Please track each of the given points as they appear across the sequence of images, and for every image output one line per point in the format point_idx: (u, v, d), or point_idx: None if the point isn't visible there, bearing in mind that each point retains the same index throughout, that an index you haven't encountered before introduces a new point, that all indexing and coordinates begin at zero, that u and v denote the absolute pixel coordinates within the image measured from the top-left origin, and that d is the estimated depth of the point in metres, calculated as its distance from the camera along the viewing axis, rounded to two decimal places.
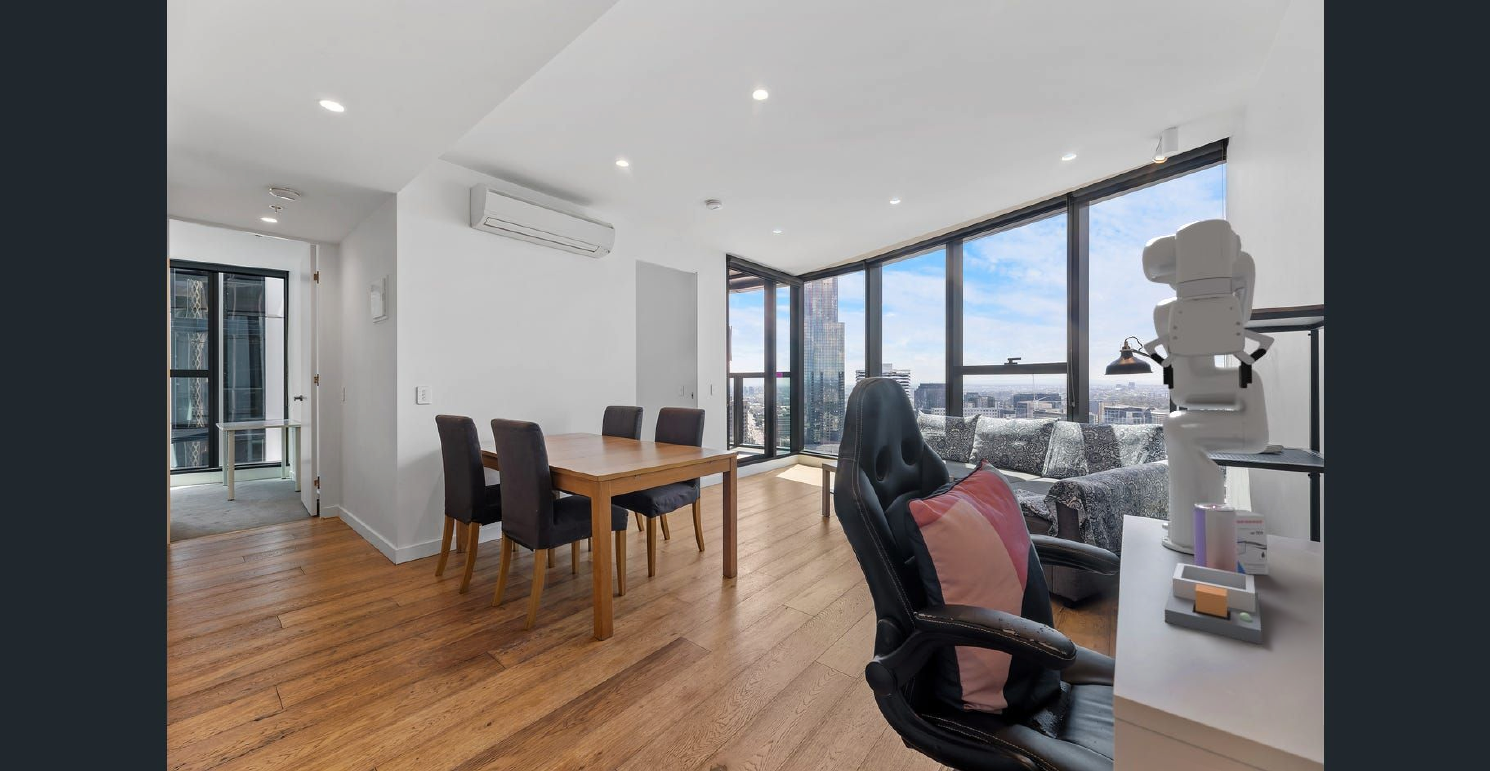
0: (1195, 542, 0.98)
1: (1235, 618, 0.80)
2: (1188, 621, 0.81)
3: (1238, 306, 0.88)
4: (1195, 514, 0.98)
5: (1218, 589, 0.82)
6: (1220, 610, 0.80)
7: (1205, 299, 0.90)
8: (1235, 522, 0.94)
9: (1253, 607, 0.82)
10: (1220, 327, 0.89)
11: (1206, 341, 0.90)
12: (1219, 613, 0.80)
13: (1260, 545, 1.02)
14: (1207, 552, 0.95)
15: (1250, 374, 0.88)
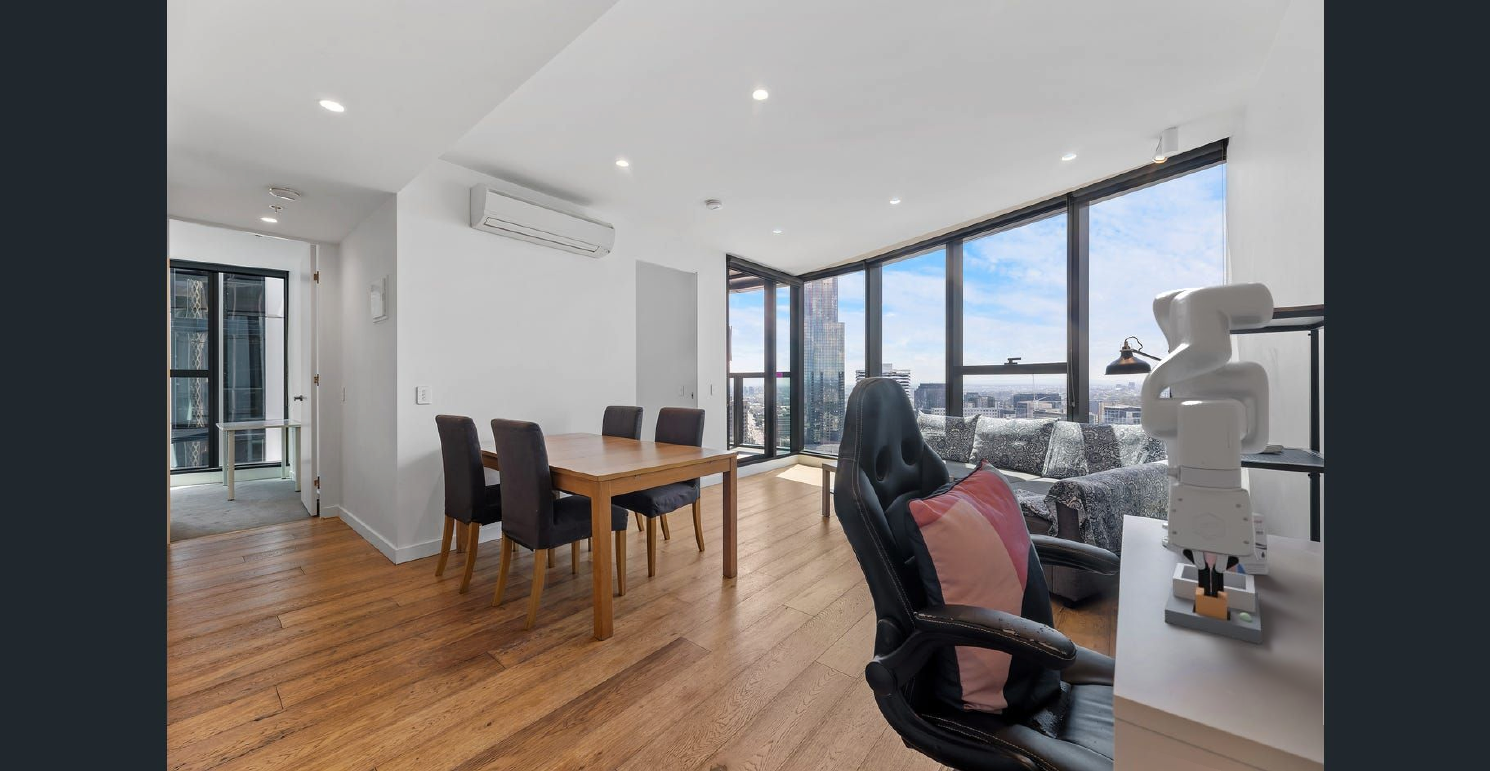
0: None
1: (1235, 618, 0.80)
2: (1188, 621, 0.81)
3: None
4: None
5: (1218, 593, 0.82)
6: (1220, 614, 0.80)
7: None
8: None
9: (1253, 607, 0.82)
10: None
11: None
12: (1219, 617, 0.80)
13: (1260, 545, 1.02)
14: (1207, 552, 0.95)
15: None
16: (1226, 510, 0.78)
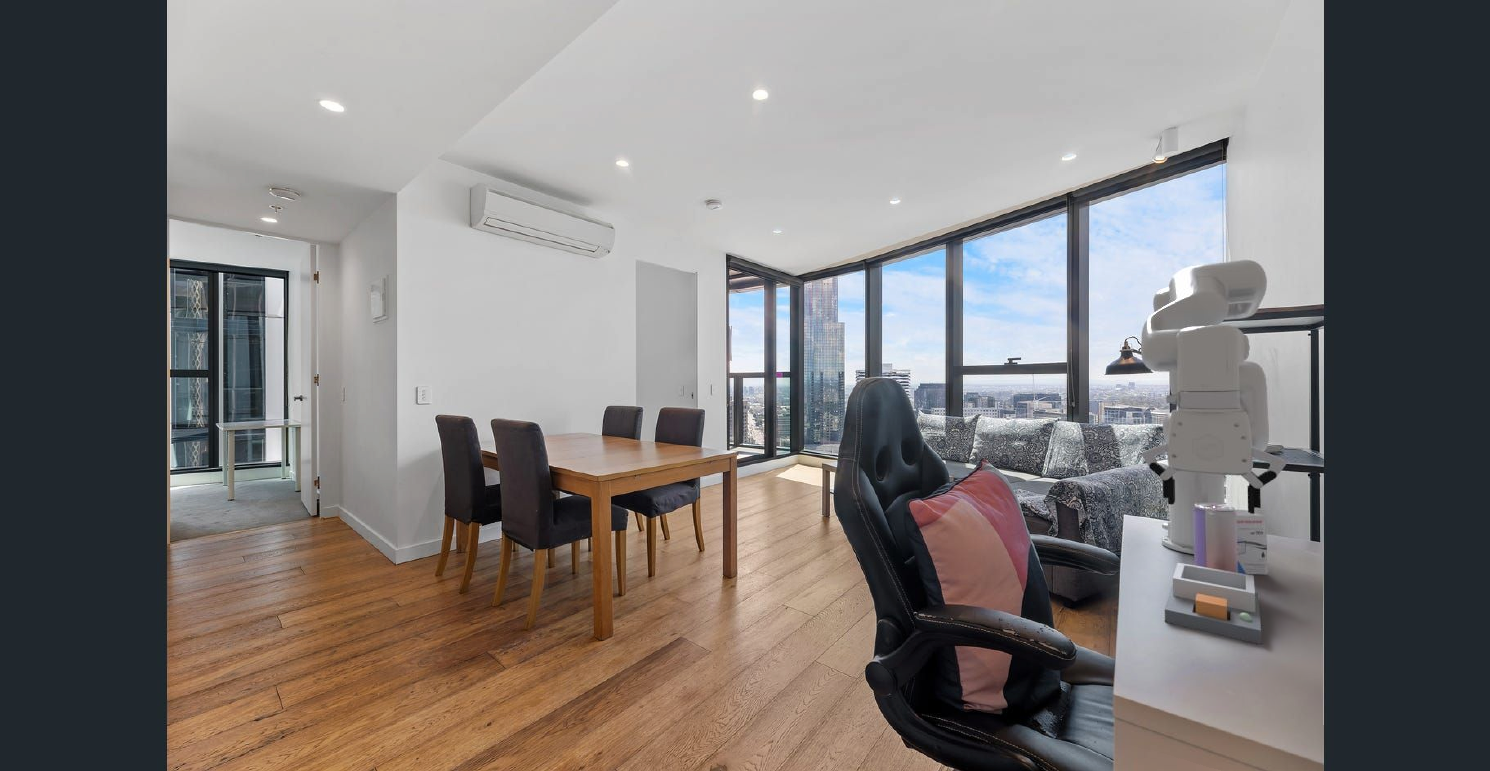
0: (1195, 542, 0.98)
1: (1235, 618, 0.80)
2: (1188, 621, 0.81)
3: None
4: (1195, 514, 0.98)
5: (1218, 599, 0.82)
6: None
7: None
8: (1235, 522, 0.94)
9: (1253, 607, 0.82)
10: None
11: None
12: None
13: (1260, 545, 1.02)
14: (1207, 552, 0.95)
15: None
16: (1225, 430, 0.80)
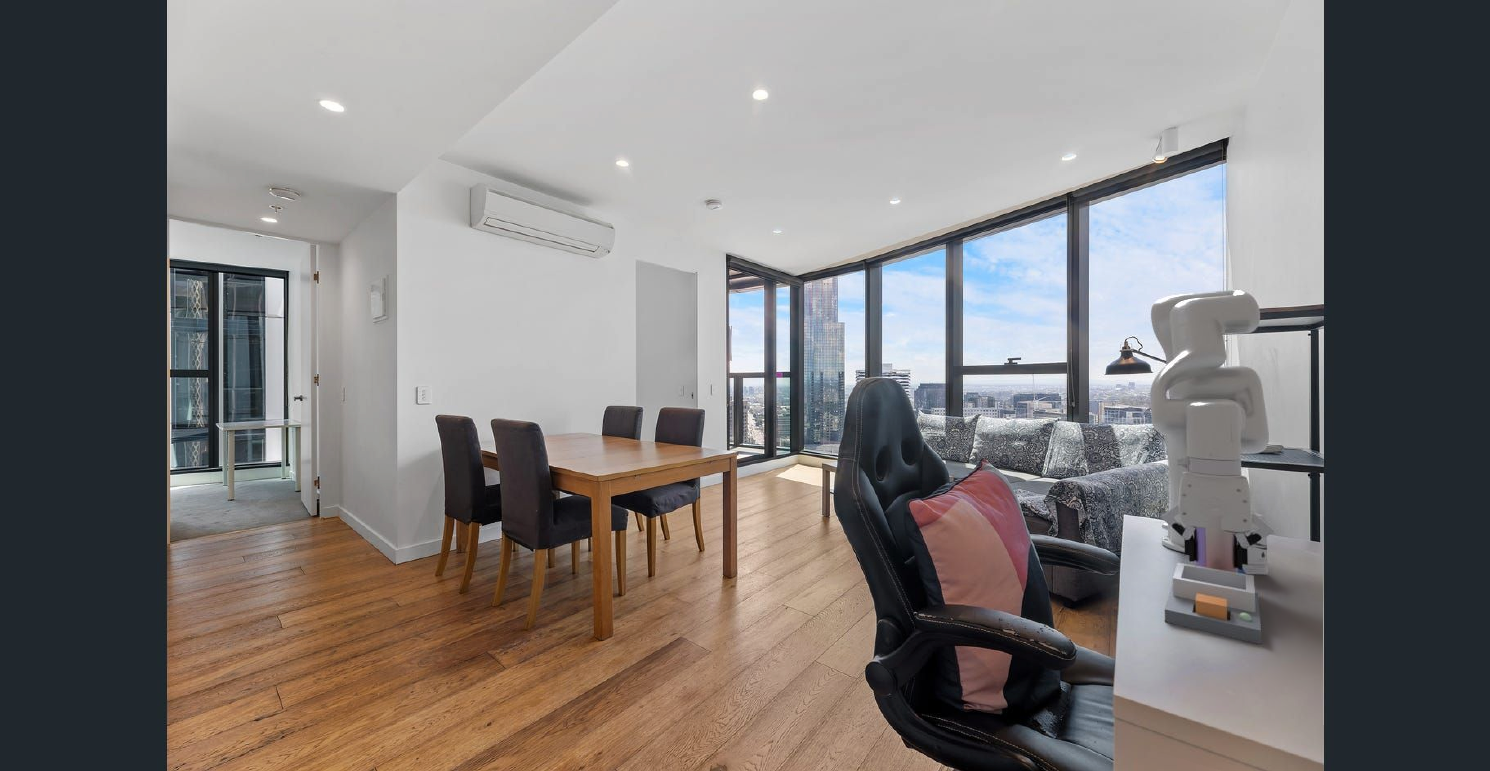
0: (1195, 542, 0.98)
1: (1235, 618, 0.80)
2: (1188, 621, 0.81)
3: None
4: None
5: (1218, 599, 0.82)
6: None
7: None
8: None
9: (1253, 607, 0.82)
10: None
11: None
12: None
13: (1260, 545, 1.02)
14: (1207, 552, 0.95)
15: None
16: (1228, 494, 0.93)
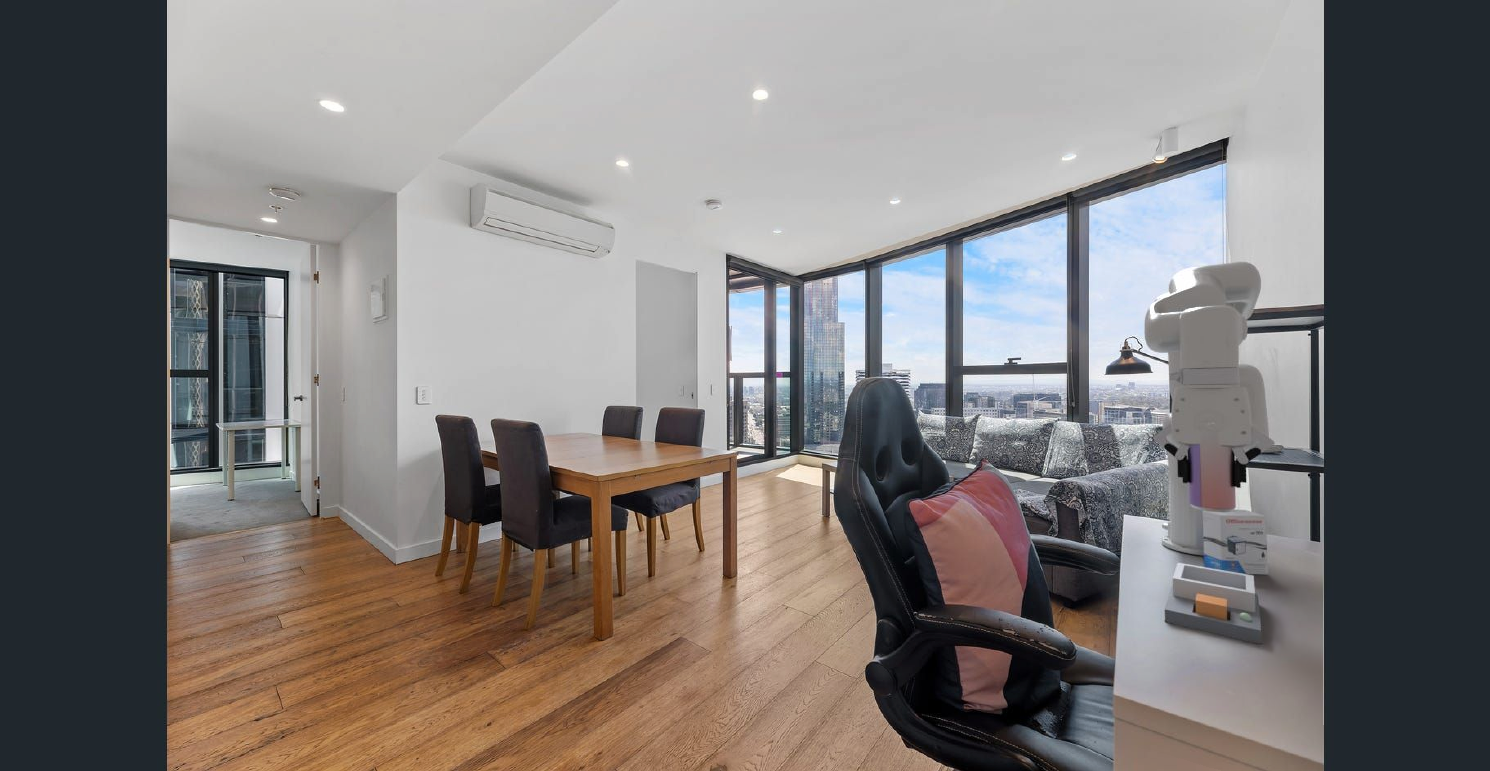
0: (1189, 462, 0.90)
1: (1235, 618, 0.80)
2: (1188, 621, 0.81)
3: None
4: None
5: (1218, 599, 0.82)
6: None
7: None
8: None
9: (1253, 607, 0.82)
10: None
11: None
12: None
13: (1260, 545, 1.02)
14: (1202, 470, 0.87)
15: None
16: (1225, 405, 0.85)
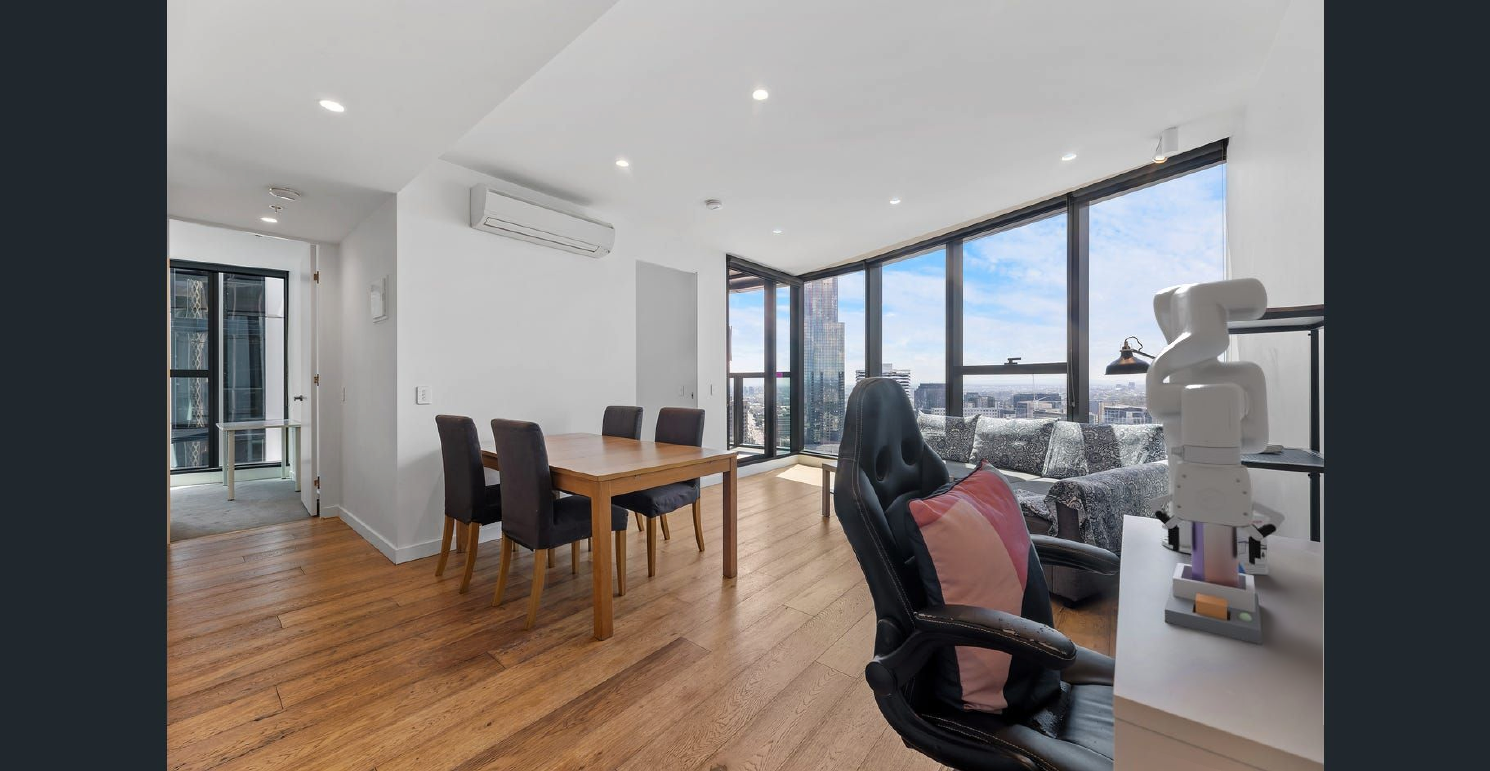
0: (1192, 546, 0.90)
1: (1235, 618, 0.80)
2: (1188, 621, 0.81)
3: None
4: None
5: (1218, 599, 0.82)
6: None
7: None
8: None
9: (1253, 607, 0.82)
10: None
11: None
12: None
13: None
14: (1205, 556, 0.87)
15: None
16: (1227, 485, 0.85)
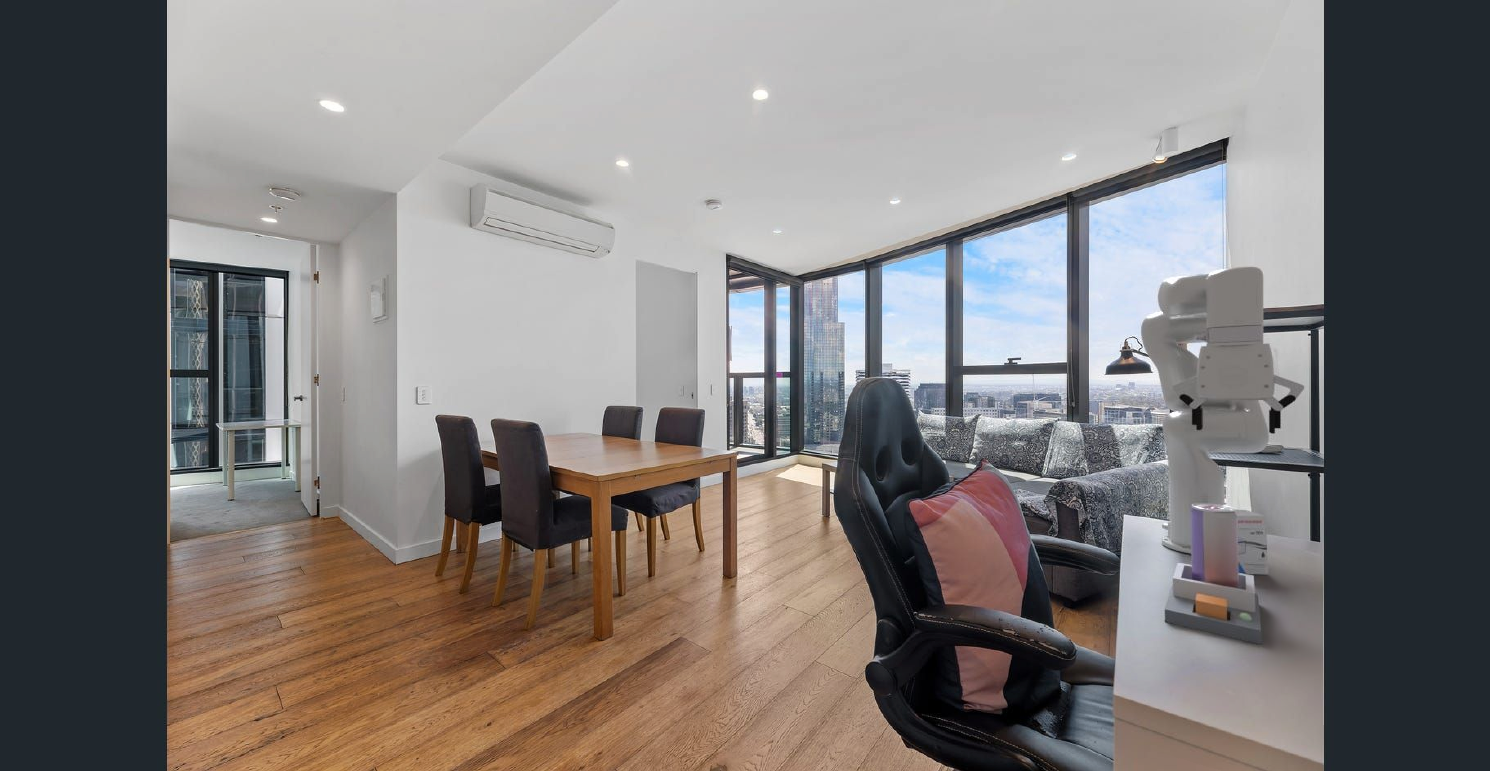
0: (1192, 546, 0.90)
1: (1235, 618, 0.80)
2: (1188, 621, 0.81)
3: None
4: (1192, 515, 0.89)
5: (1218, 599, 0.82)
6: None
7: None
8: (1236, 524, 0.86)
9: (1253, 607, 0.82)
10: None
11: None
12: None
13: (1260, 545, 1.02)
14: (1205, 557, 0.87)
15: None
16: (1249, 361, 0.91)
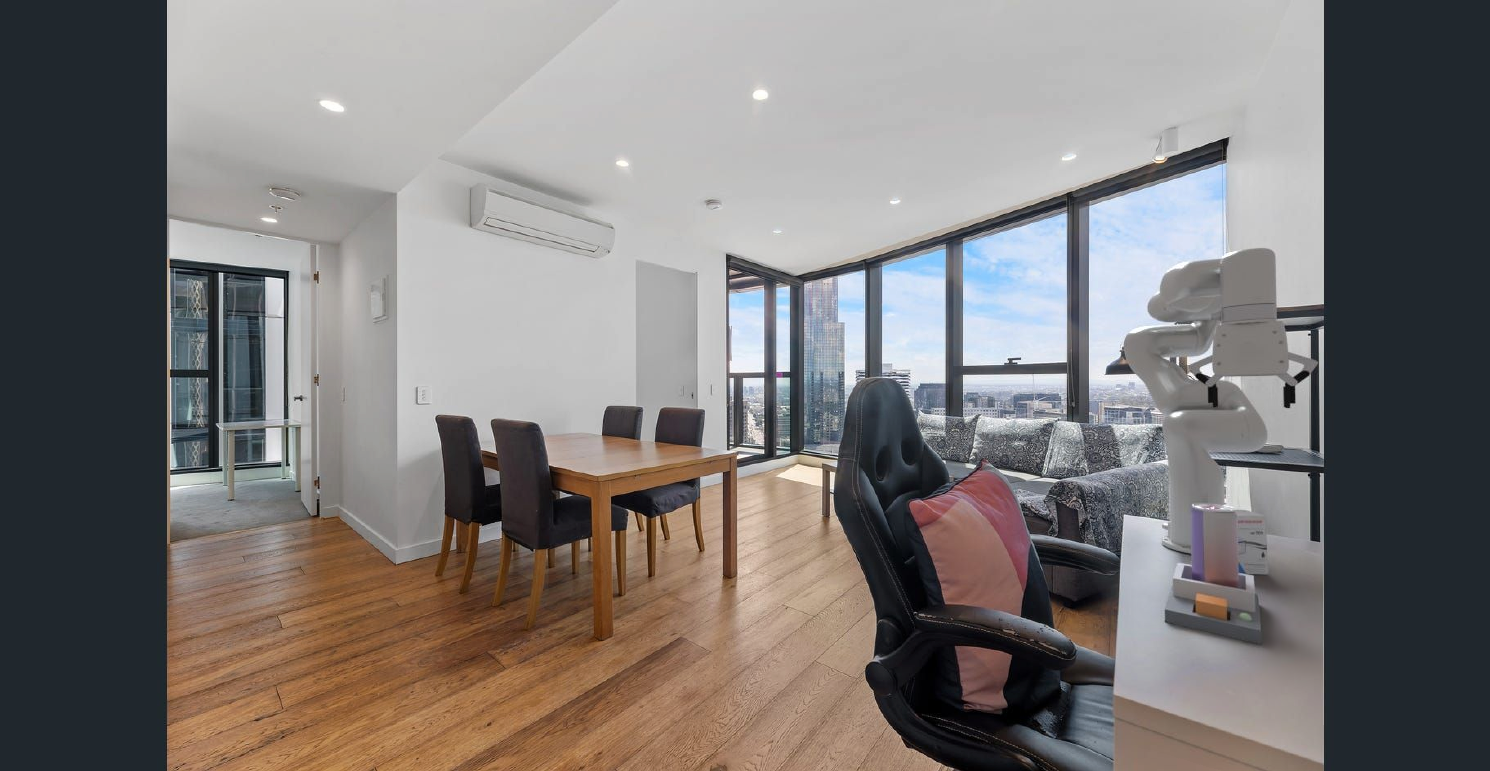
0: (1192, 546, 0.90)
1: (1235, 618, 0.80)
2: (1188, 621, 0.81)
3: None
4: (1192, 515, 0.89)
5: (1218, 599, 0.82)
6: None
7: None
8: (1236, 524, 0.86)
9: (1253, 607, 0.82)
10: None
11: None
12: None
13: (1260, 545, 1.02)
14: (1205, 557, 0.87)
15: None
16: (1264, 337, 0.94)
